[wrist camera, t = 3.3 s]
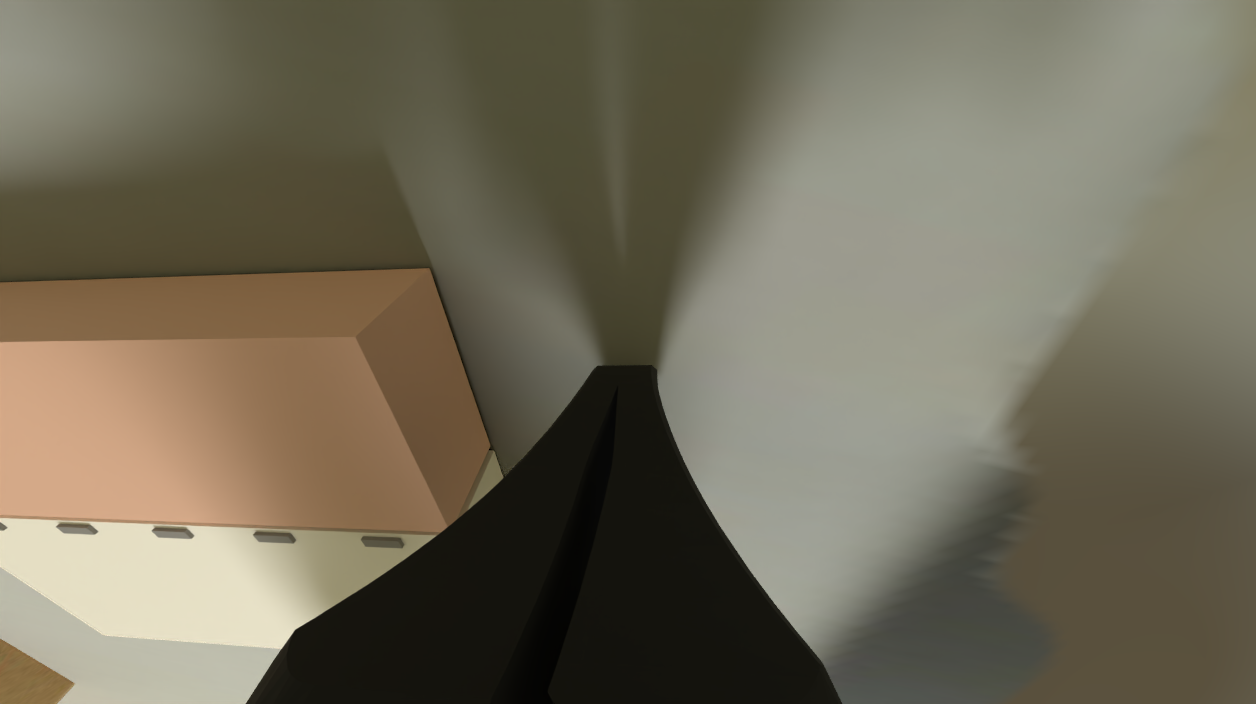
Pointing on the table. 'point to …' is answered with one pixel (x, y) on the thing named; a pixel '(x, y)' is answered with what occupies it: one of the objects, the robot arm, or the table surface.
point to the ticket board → (204, 571)
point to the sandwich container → (28, 679)
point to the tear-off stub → (237, 401)
